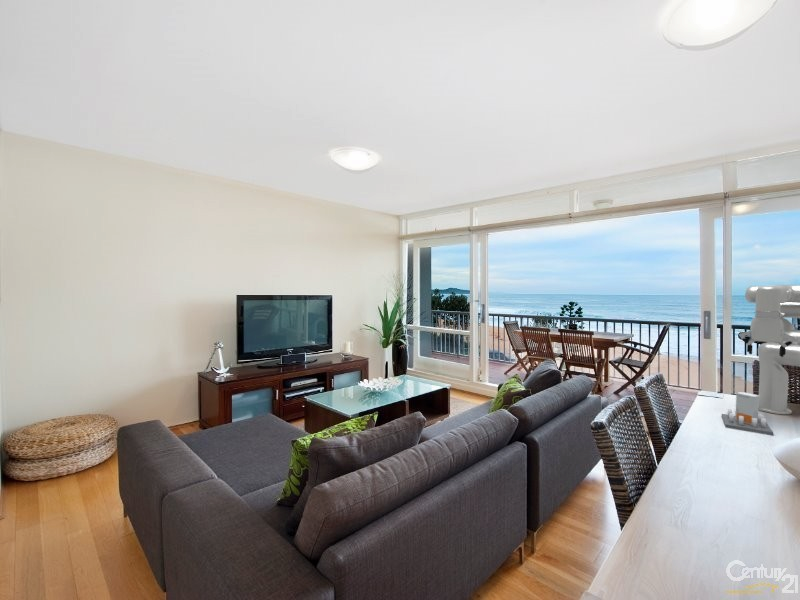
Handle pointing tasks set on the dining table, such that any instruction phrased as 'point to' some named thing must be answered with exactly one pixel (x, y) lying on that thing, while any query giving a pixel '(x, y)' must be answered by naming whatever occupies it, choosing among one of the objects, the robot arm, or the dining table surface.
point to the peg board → (758, 428)
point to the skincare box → (747, 407)
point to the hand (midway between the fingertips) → (765, 355)
